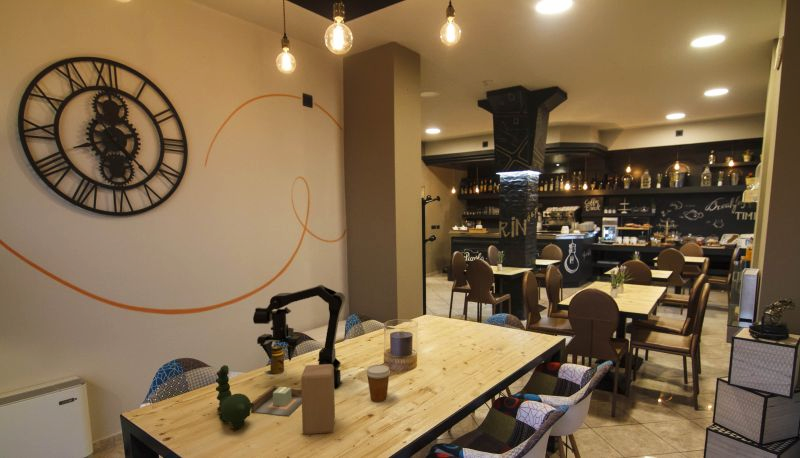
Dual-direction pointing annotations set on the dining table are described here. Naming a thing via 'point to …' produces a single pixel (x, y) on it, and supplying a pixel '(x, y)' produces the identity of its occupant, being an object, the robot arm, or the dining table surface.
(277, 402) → the cube
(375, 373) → the disposable coffee cup
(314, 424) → the wooden block
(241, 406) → the toy figurine
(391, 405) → the dining table surface
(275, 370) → the condiment
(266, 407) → the arena
